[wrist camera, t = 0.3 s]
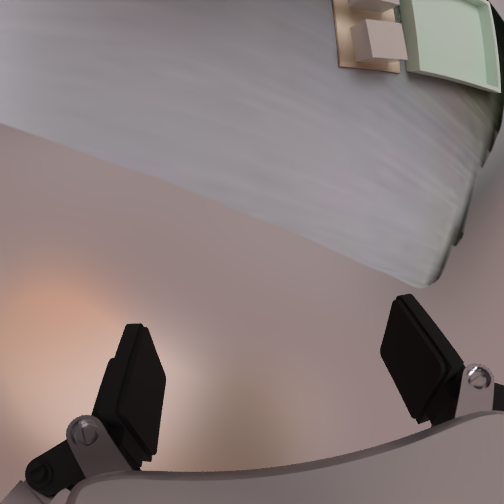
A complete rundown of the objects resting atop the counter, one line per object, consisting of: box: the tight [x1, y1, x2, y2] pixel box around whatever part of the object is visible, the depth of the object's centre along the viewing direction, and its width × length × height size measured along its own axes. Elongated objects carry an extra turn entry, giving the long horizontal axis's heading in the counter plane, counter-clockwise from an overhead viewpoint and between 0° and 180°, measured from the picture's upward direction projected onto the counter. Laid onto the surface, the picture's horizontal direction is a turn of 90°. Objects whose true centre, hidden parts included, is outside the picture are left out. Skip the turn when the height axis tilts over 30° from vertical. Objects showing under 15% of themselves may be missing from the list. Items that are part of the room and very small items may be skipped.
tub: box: [399, 0, 501, 93], centre depth 27 cm, size 17×18×4 cm
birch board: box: [332, 0, 400, 73], centre depth 29 cm, size 15×9×1 cm, turn 4°
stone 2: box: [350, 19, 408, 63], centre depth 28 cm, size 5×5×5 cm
